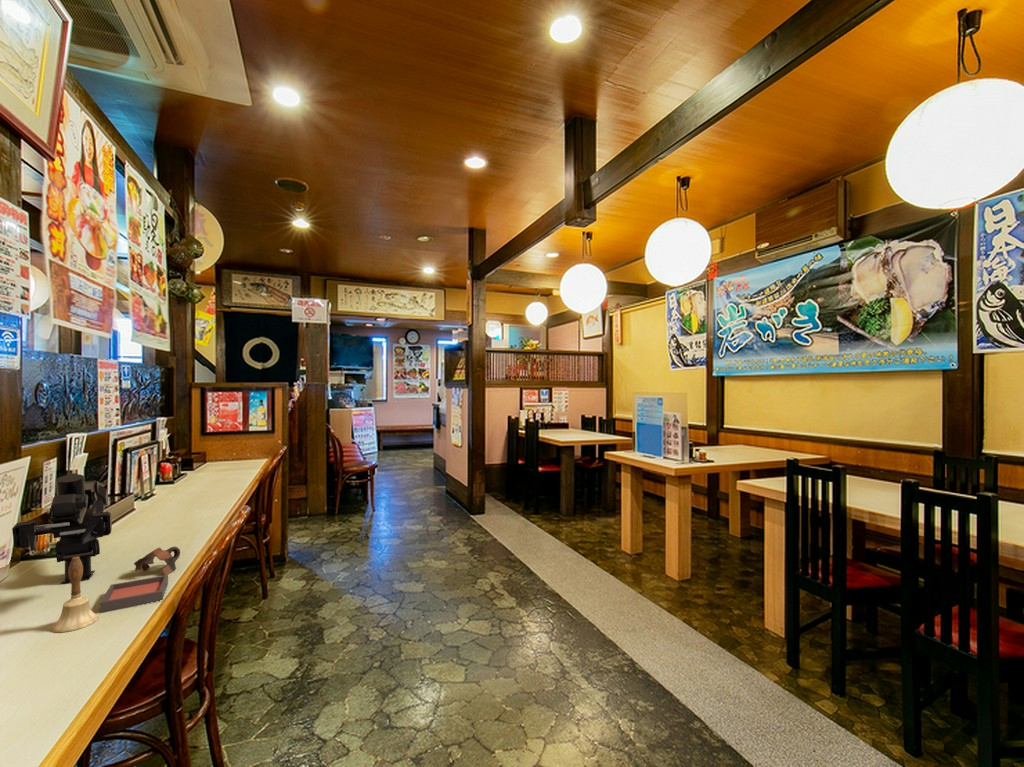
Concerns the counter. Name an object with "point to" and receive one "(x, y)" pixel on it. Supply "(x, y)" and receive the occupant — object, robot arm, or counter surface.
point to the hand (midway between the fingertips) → (57, 545)
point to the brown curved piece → (162, 555)
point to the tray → (134, 593)
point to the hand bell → (75, 603)
